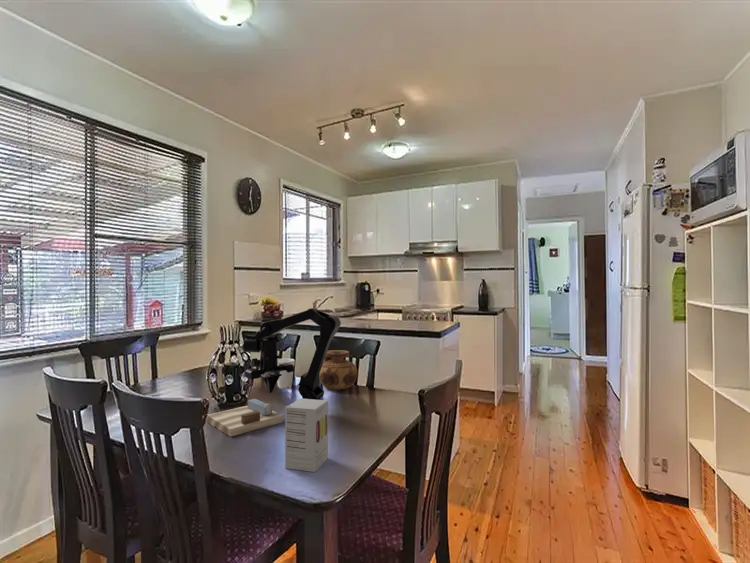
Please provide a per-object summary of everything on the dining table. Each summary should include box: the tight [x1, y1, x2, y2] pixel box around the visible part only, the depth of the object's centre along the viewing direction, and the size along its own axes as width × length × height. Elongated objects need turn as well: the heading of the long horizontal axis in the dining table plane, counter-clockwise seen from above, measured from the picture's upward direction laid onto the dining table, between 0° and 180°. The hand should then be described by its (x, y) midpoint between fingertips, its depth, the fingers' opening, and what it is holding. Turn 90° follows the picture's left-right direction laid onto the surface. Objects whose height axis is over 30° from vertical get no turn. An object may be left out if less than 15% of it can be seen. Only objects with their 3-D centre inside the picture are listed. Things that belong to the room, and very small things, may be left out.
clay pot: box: [319, 349, 358, 391], centre depth 192 cm, size 19×19×20 cm
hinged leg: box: [246, 398, 273, 415], centre depth 150 cm, size 14×3×4 cm, turn 44°
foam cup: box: [276, 358, 296, 389], centre depth 195 cm, size 10×9×13 cm
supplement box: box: [284, 397, 329, 473], centre depth 112 cm, size 10×9×17 cm
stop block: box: [241, 411, 260, 425], centre depth 138 cm, size 2×6×3 cm, turn 134°
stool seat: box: [206, 405, 284, 437], centre depth 146 cm, size 20×20×2 cm
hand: (270, 392), depth 156 cm, fingers closed
